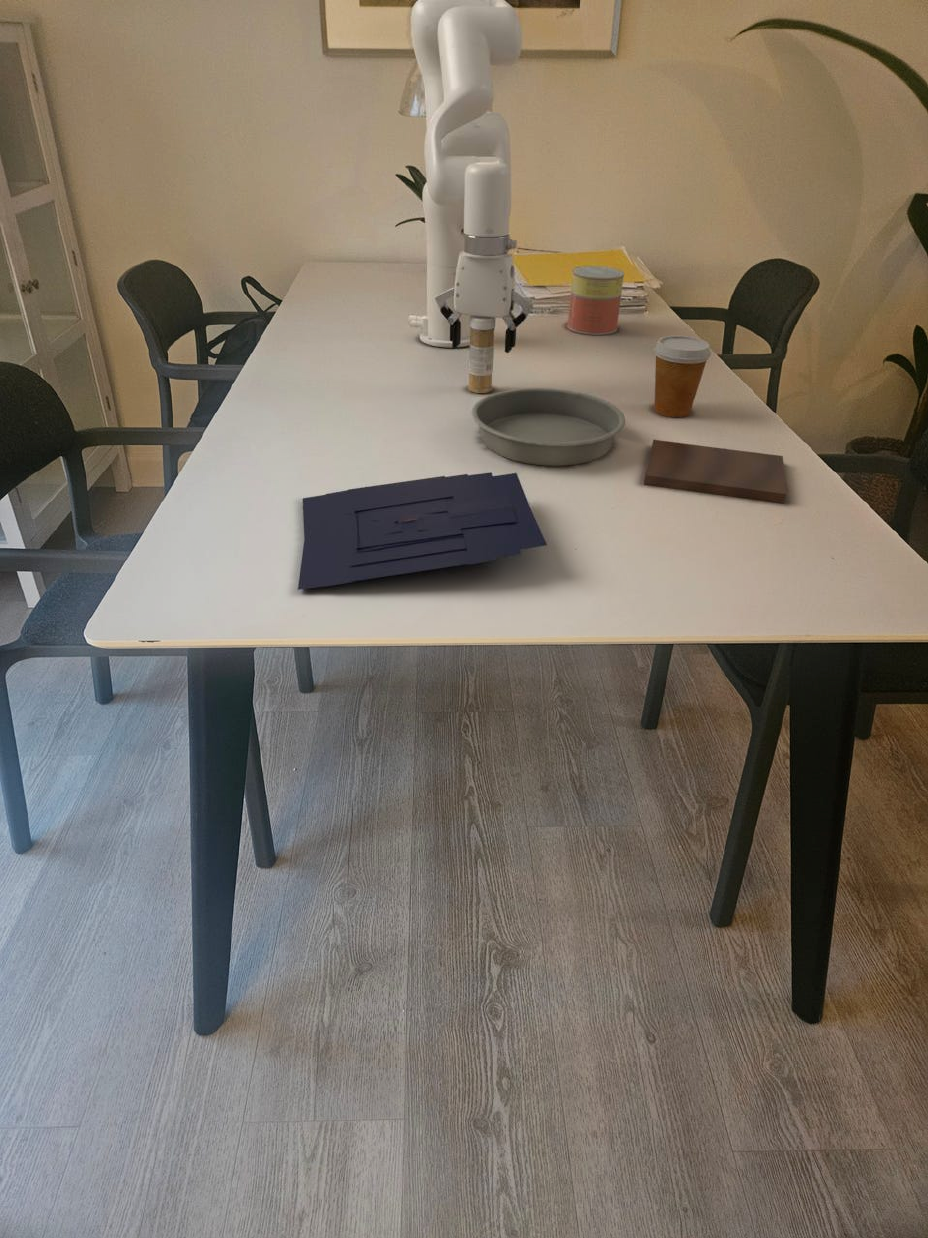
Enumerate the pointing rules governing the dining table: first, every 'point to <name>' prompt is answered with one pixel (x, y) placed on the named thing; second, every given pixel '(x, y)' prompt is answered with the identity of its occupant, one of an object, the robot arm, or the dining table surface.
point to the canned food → (595, 300)
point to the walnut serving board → (716, 471)
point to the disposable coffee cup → (678, 373)
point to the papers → (414, 527)
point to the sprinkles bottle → (481, 353)
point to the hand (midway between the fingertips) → (482, 348)
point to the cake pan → (547, 425)
